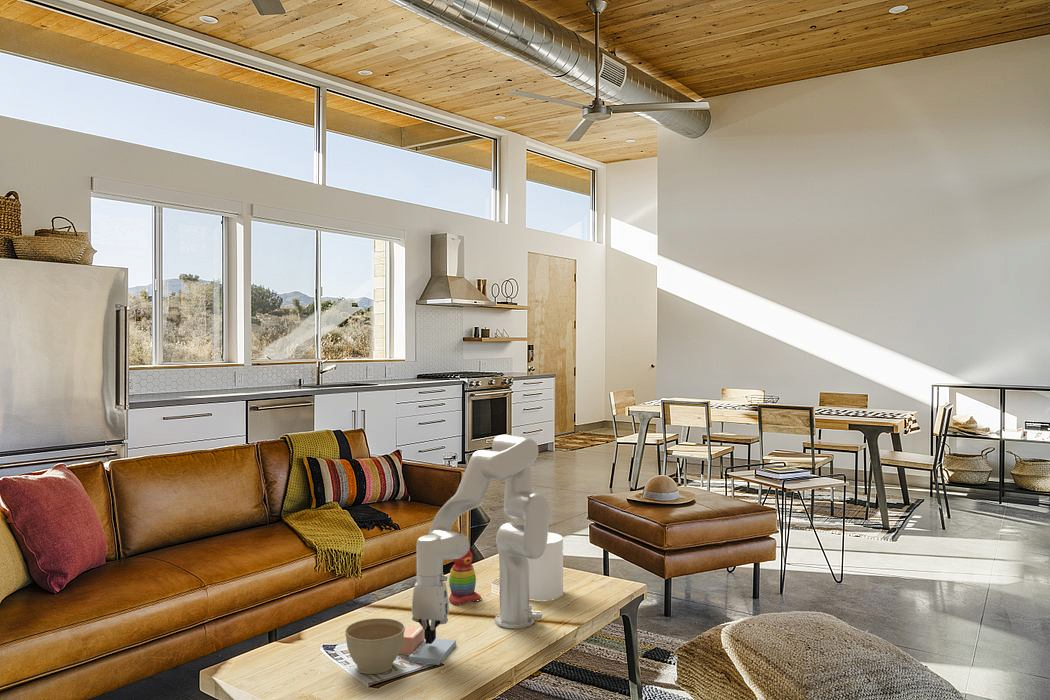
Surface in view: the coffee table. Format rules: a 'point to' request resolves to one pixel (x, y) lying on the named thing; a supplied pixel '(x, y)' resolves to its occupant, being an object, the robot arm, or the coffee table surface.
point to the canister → (547, 571)
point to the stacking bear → (463, 581)
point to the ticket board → (432, 651)
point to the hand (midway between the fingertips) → (430, 641)
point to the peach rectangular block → (412, 639)
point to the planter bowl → (375, 643)
